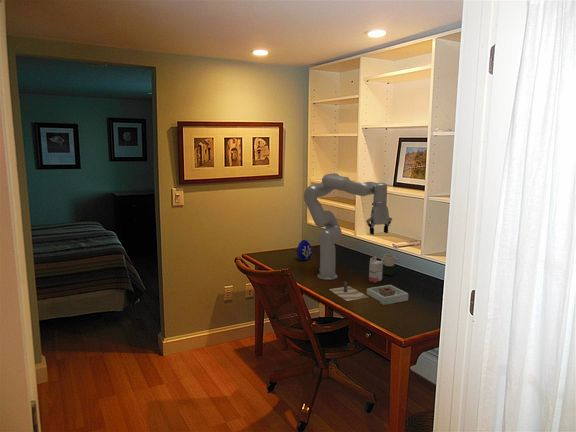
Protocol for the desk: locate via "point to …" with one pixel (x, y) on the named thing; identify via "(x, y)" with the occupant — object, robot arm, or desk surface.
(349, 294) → the stake board
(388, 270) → the character mug
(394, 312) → the desk surface
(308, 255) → the ornament
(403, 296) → the tray
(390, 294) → the tabbed ring
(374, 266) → the ink cartridge box
